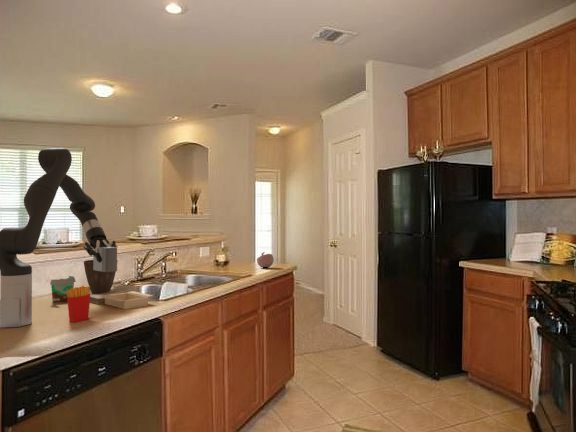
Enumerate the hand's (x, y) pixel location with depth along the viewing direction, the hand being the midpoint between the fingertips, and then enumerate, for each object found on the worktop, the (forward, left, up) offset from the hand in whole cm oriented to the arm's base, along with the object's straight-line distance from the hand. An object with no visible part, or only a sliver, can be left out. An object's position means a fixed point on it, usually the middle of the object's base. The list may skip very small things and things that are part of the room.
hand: (107, 260), depth 189 cm
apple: (+117, -74, -18) cm, 139 cm away
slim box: (+1, +1, -4) cm, 5 cm away
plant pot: (+22, +9, -18) cm, 30 cm away
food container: (+7, +19, -18) cm, 27 cm away
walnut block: (+1, +1, -18) cm, 18 cm away
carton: (-9, -10, -18) cm, 22 cm away
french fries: (-32, 0, -18) cm, 37 cm away
